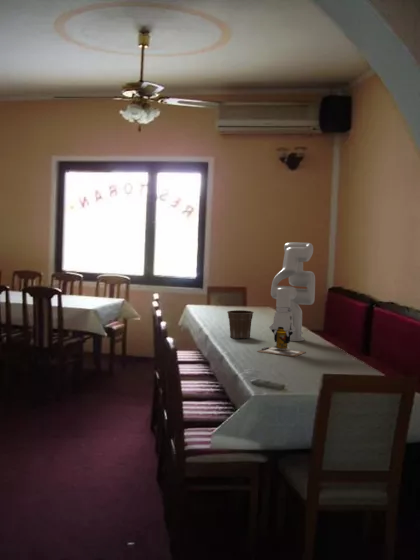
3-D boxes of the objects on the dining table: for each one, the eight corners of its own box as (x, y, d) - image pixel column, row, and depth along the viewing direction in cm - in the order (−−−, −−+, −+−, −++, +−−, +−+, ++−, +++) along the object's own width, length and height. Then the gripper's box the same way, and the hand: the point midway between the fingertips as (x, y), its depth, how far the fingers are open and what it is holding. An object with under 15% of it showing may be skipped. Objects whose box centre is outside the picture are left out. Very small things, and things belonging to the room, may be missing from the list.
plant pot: (222, 338, 351) (222, 312, 350) (233, 334, 365) (234, 309, 364) (246, 340, 343) (247, 314, 342) (256, 336, 358) (257, 311, 356)
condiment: (284, 349, 310) (285, 327, 309) (270, 347, 314) (271, 326, 313) (290, 347, 316) (290, 326, 315) (276, 345, 321) (276, 324, 320)
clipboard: (269, 347, 324) (269, 345, 323) (305, 352, 312) (305, 350, 312) (257, 351, 311) (257, 349, 311) (295, 357, 299) (295, 354, 299)
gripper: (300, 310, 312) (299, 343, 313) (271, 308, 321) (270, 339, 322) (294, 312, 305) (293, 345, 307) (265, 309, 314) (264, 341, 316)
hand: (282, 342), depth 314 cm, fingers closed on condiment, 6 cm apart
